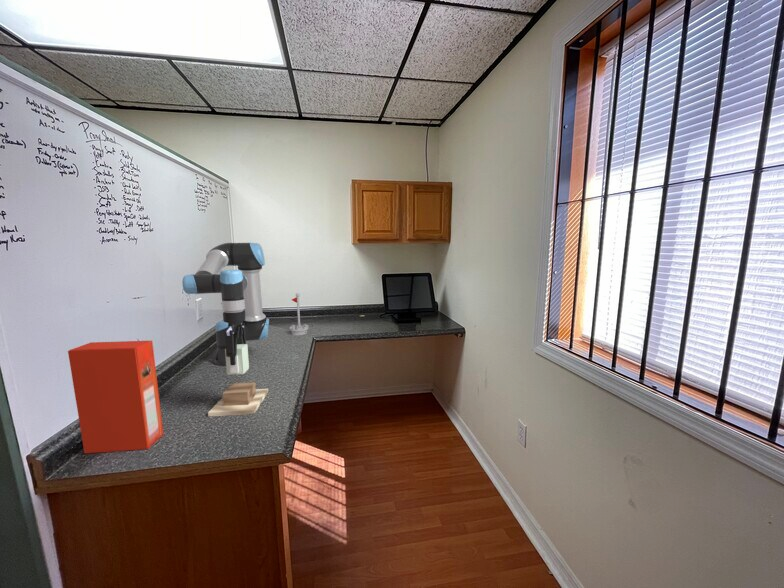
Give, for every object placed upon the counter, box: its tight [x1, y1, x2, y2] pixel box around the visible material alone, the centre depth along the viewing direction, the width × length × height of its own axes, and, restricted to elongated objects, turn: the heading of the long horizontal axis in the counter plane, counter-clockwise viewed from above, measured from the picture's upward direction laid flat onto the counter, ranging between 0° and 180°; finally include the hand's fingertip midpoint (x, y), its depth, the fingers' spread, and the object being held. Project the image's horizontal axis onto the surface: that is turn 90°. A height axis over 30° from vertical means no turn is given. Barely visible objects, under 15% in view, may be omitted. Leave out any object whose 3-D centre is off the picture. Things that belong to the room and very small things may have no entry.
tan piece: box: [207, 381, 269, 417], centre depth 120 cm, size 18×16×6 cm
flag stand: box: [289, 292, 309, 336], centre depth 223 cm, size 13×13×30 cm
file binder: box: [67, 340, 164, 455], centre depth 93 cm, size 8×17×32 cm, turn 97°
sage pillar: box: [225, 343, 250, 376], centre depth 118 cm, size 6×6×10 cm
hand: (238, 369), depth 118 cm, fingers closed on sage pillar, 6 cm apart
